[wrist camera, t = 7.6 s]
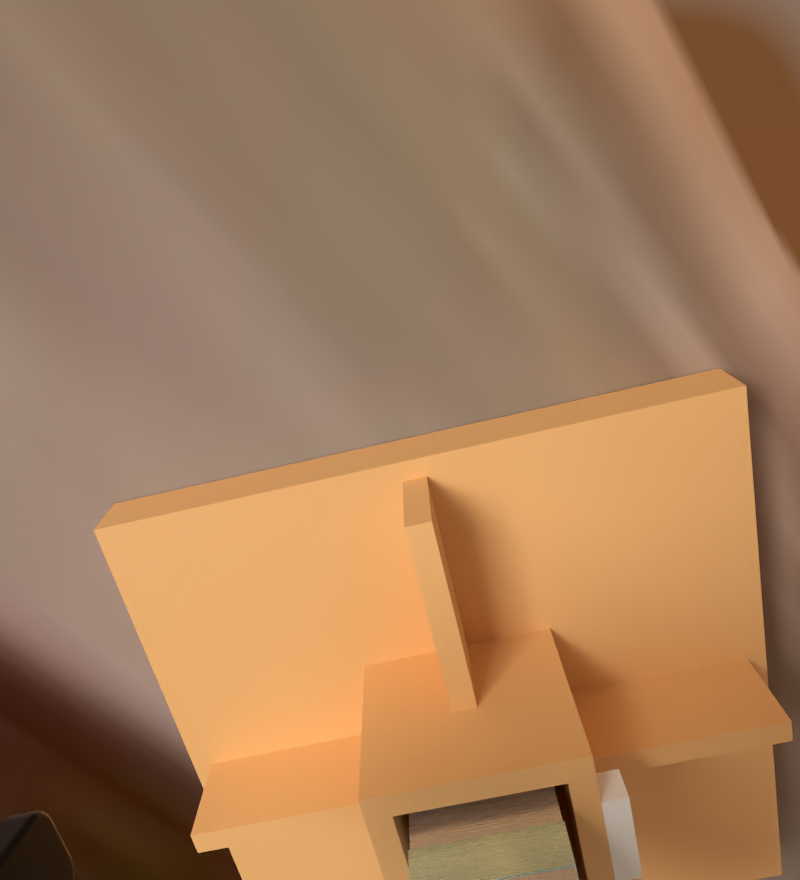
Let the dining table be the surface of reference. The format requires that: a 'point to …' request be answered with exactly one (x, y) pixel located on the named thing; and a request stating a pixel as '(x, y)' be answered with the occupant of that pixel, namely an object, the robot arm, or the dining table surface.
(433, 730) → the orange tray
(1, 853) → the robot arm
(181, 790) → the dining table surface
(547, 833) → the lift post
